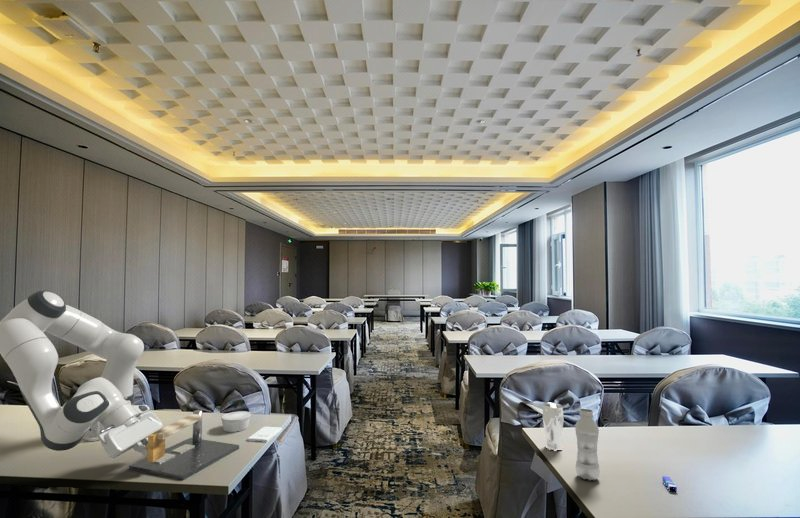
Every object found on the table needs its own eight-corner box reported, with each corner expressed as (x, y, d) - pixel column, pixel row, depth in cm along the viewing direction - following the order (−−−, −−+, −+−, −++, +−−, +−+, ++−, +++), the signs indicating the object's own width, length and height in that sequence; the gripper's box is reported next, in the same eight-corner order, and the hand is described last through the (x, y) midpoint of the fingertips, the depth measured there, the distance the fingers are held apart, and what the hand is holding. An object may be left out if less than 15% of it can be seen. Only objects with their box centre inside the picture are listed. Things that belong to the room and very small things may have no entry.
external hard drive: (282, 431, 160) (266, 443, 148) (263, 430, 162) (246, 442, 149) (282, 427, 160) (267, 439, 148) (263, 426, 162) (246, 437, 149)
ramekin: (235, 422, 170) (235, 409, 170) (256, 425, 166) (256, 412, 166) (214, 431, 159) (214, 417, 159) (236, 435, 155) (236, 421, 155)
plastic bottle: (571, 473, 123) (569, 407, 125) (592, 472, 124) (590, 406, 125) (582, 484, 117) (581, 414, 118) (605, 483, 118) (602, 413, 119)
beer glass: (564, 446, 144) (563, 403, 145) (563, 453, 138) (562, 409, 139) (544, 442, 147) (543, 401, 148) (542, 450, 141) (541, 406, 142)
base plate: (129, 469, 127) (130, 430, 127) (190, 440, 149) (191, 408, 150) (183, 480, 120) (184, 439, 120) (239, 448, 142) (239, 414, 143)
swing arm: (191, 436, 144) (191, 414, 145) (201, 437, 144) (201, 414, 144) (147, 462, 124) (147, 435, 125) (158, 462, 123) (159, 436, 124)
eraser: (668, 492, 113) (668, 485, 113) (662, 482, 118) (662, 475, 118) (677, 494, 112) (676, 486, 112) (670, 483, 118) (669, 476, 118)
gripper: (102, 425, 117) (132, 461, 116) (150, 403, 137) (177, 433, 136) (87, 440, 117) (117, 476, 116) (137, 416, 137) (163, 446, 136)
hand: (150, 453), depth 126 cm, fingers closed
